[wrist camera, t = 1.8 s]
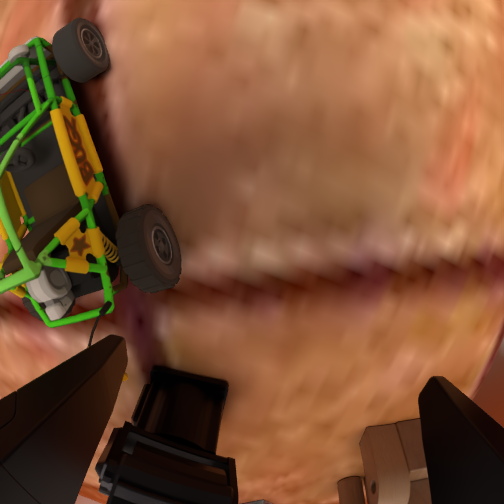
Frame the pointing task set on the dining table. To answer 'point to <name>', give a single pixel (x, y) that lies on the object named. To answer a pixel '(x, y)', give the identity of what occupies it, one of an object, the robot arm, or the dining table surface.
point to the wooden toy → (390, 467)
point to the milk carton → (258, 502)
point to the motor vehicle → (67, 189)
